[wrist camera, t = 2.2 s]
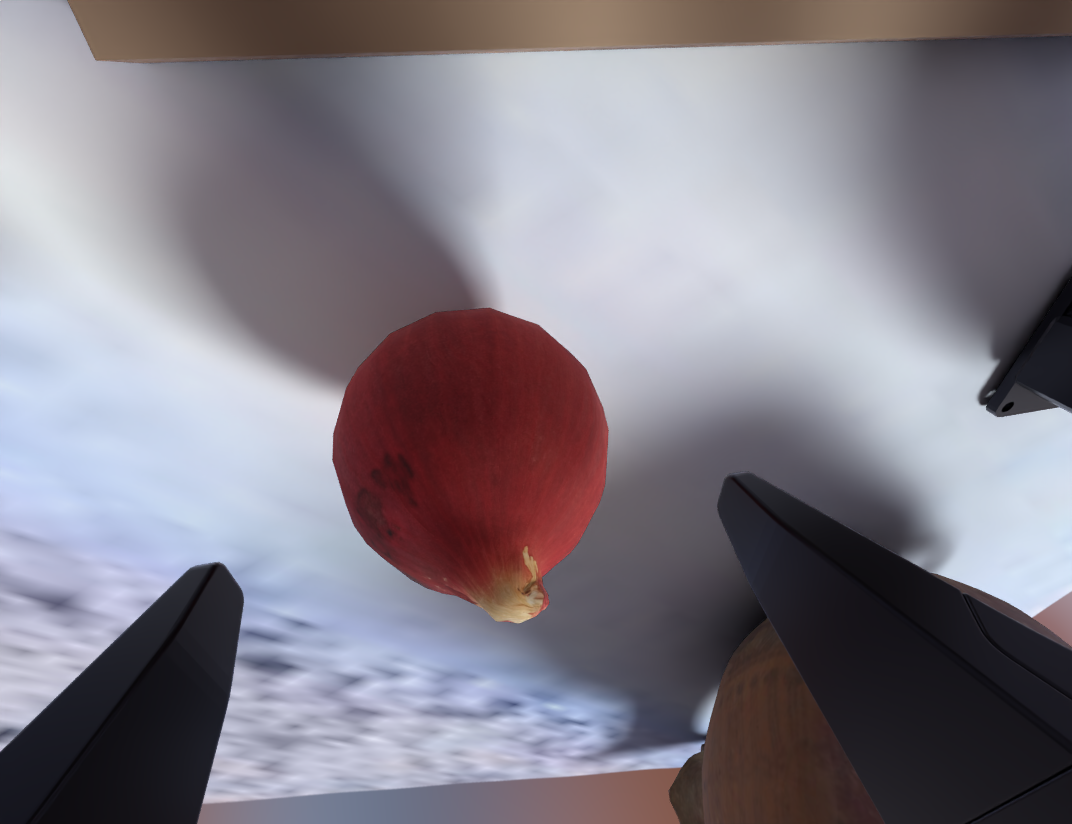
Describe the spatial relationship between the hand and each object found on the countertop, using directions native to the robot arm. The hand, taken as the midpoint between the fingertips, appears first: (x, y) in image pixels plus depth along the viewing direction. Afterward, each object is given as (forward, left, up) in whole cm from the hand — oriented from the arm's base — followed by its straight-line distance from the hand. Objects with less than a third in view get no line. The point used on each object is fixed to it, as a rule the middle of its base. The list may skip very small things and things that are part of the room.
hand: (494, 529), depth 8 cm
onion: (0, 0, -6) cm, 6 cm away
